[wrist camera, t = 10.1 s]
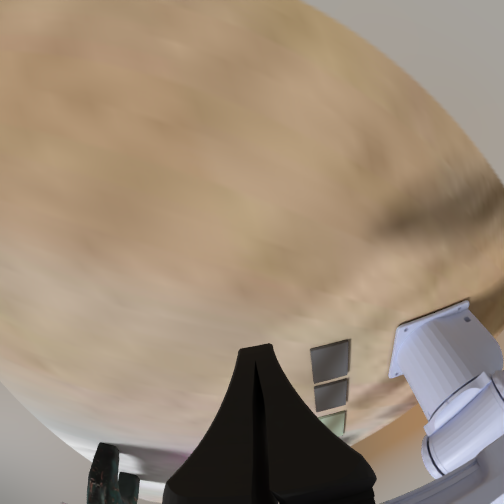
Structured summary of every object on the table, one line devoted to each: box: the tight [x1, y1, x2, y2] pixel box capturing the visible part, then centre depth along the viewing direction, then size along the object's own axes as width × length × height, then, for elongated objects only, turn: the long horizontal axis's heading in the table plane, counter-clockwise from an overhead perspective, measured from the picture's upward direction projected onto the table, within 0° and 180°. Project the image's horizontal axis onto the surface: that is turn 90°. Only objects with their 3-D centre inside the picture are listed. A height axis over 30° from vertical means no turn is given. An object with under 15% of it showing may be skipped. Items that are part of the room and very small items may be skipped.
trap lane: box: [310, 340, 348, 437], centre depth 30 cm, size 21×29×2 cm
